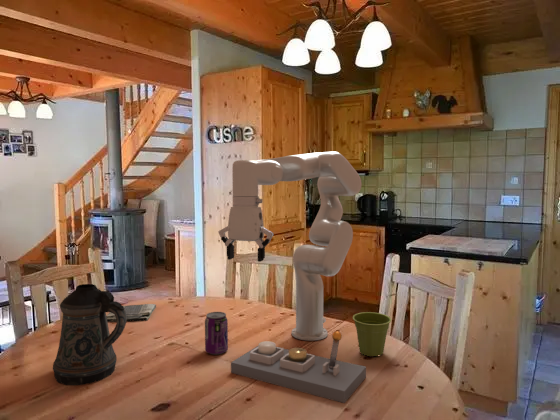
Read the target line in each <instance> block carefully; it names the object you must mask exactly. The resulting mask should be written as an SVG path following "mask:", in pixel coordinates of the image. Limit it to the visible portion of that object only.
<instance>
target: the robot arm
mask: <svg viewBox="0 0 560 420" xmlns="http://www.w3.org/2000/svg"><path fill="white" fill-rule="evenodd" d="M231 170H232V206H230V208H229V215H228V224H227V226H226V227H223V228H222V229H219V231H218V234H219V236H220V240H221V242H223V243H224V246H225V247H226V257H227V260H228V261H229V260H233V259H234V258H235V246H234V245H235V244H234V242H236V241H239V242H241V241H242V242H255V243H256V244H257V245H258V248H257V262H258V263H259V262H263V261H265V260H264V259H265V257H266V247H267V246H268V244H269V243H271V240H272V238H273V237H274V232H272V230H269V229H267V228H266V227H265V225H264V217H263V211H262V207H261V206H259V205H260V204H263V199H262V198H260V197H259V186H273V185H277V184H279V182H298V181H303V180H309V179H315V178H317V189H318V194H319V197H320V206H319V210H318V212H317V214H316V216H315V219H314V220H313V222H312V224H311V227H310V229H309V233H308V239H309V241H310V242H311V243H312V244H301V245H300V246H298V247H297V248H295V250H294V252H293V254H292V255H293V256H292V264H293V269H294V275H295V327H294V328H292V329H291V336H292V337H293V338H295V339H297V340H302V341H309V342H310V341H311V342H312V341H320V340H324V339H325V338H327V337H328V334H329V333H328V330H327V329H326V328H325V327H324V323H326V322H327V319H326V318H325V316H324V281H323V278H322V276H323V277H324V276H325V277H334V276H335V275H337V274H338V273H339V272H340V270H341V268H342V266H343V264H344V262H345V259H346V257H347V255H348V252H349V250H350V248H351V246H352V243H353V239H354V238H353V237H354V230H353V228H352V227H353V226H352V225H351V224H350V223H349V222H348V221H346V220H345V221H344V220H341V219H342V217H343V214H344V209H343V206H342V203H341V201H340V199H339V196H341V197H342V196H343V197H353V196H356V195H358V194H359V193H360V191H361V190H362V178H361V177H360V175H359V173H358V172H357V170H356V169H355V168H354V167H353V165H352V164H351V162H349V160H348V159H347V158H346V157H345V156H344V155H343V154H341V153H340V152H338V151H323V152H321V151H320V152H310V153H301V154H292V155H286V156H280V157H272V158H265V159H256V160H250V159H248V160H247V159H245V160H243V159H241V160H235V161H233V163H232V169H231ZM226 233H227V235H226ZM265 235H266V238H265ZM264 238H265V239H264Z"/></svg>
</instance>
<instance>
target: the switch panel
mask: <svg viewBox="0 0 560 420" xmlns="http://www.w3.org/2000/svg"><path fill="white" fill-rule="evenodd" d="M289 350H290V349H287V348H284V347H280V346H279V347H278V346H276V352H275V353H273V354H270V355H264V354H260V353H259V352H258V345H257V346H255V347H254V348H252V349H250V350H249V351H248V352H246V353H244V354H242V355H241V356H239V357H237V358H236V359H234V360H233V361H231V362H230V373H232V374H235V375H239V376H242V377H246V378H249V379H252V380H253V379H254V380H256V381H261V382H265V383H268V384H272V385H276V386H279V387H283V388H287V389H291V390H293V391H294V390H295V391H298V392H301V393H306V394H309V395H312V396H316V397H321V398H324V399H327V400H331V401H335V402H339V403H343V404H345V403H347V401H348V399H349V398H351V396H352V395H353V393H355V391H356V390H357V389H358V388H359V386H360V385H361V384H362V383H363V381H364V380H365V379H366V378H367V366H364V365H360V364H357V363H356V364H355V363H351V362H346V361H342V360H337V359H336V363H335V367H334V368H333V370H331V369H330V368H329V363H330V358H329V357H323V356H319V355H315V354H311V353H307V359H306V360H305V361H302V362H294V361H291V360H289Z"/></svg>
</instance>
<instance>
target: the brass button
mask: <svg viewBox="0 0 560 420" xmlns="http://www.w3.org/2000/svg"><path fill="white" fill-rule="evenodd" d="M288 350H289V360H291V361H294V362H302V361H305V360H306V359H307V354H308V351H307V349H306V348H302V347H293V348H292V347H291V348H290V349H288Z"/></svg>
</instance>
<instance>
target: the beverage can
mask: <svg viewBox="0 0 560 420" xmlns="http://www.w3.org/2000/svg"><path fill="white" fill-rule="evenodd" d="M205 316H206V317H205V319H204V345H205V346H204V351H205V352H206V353H208V354H209V355H213V356H216V355H222V354H224V353H225V352H227V351H228V349H229V343H228V342H229V339H228V337H229V335H228V334H229V332H228V329H229V327H228V325H229V324H228V323H229V322H228V320H229V319H228V317H227V313H226V312H224V311H212V312H208V313H206V315H205Z"/></svg>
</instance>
